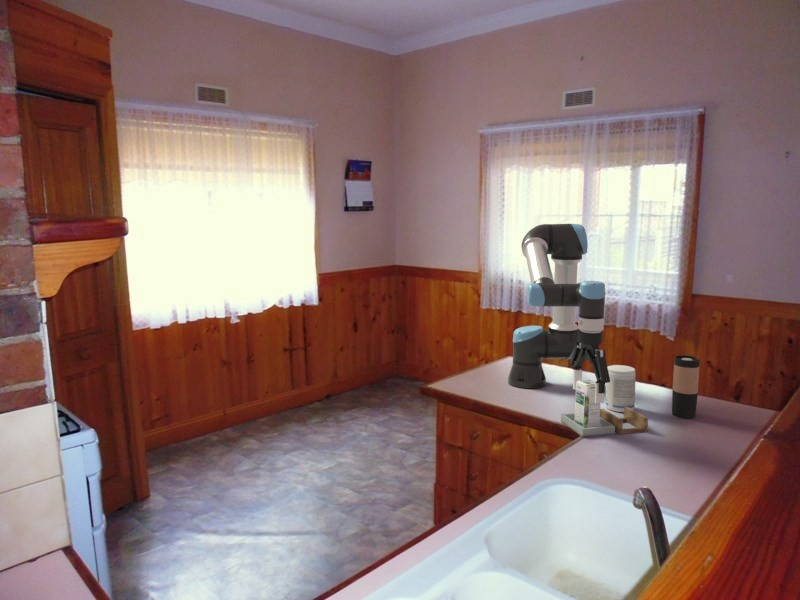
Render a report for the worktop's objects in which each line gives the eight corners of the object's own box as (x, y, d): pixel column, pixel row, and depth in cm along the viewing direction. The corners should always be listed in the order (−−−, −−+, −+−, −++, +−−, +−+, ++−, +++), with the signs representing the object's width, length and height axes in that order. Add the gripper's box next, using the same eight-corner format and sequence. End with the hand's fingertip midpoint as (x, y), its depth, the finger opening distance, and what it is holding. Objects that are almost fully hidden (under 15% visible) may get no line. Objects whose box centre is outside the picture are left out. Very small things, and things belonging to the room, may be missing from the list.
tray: (560, 421, 184) (560, 414, 184) (591, 418, 186) (591, 411, 186) (582, 437, 170) (582, 429, 170) (614, 434, 172) (615, 426, 172)
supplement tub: (640, 409, 194) (642, 369, 192) (623, 415, 189) (625, 373, 187) (615, 402, 202) (617, 363, 200) (599, 407, 197) (600, 367, 195)
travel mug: (667, 415, 188) (671, 358, 185) (675, 410, 194) (678, 354, 191) (692, 421, 183) (696, 362, 180) (699, 414, 188) (703, 357, 186)
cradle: (599, 422, 183) (599, 408, 182) (626, 419, 185) (627, 406, 184) (618, 434, 172) (619, 420, 172) (647, 431, 174) (648, 418, 173)
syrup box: (573, 424, 180) (574, 380, 178) (588, 421, 182) (589, 378, 180) (585, 430, 175) (586, 385, 173) (600, 427, 177) (602, 383, 175)
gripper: (560, 323, 185) (558, 384, 189) (601, 340, 161) (598, 409, 164) (581, 322, 187) (578, 382, 190) (624, 338, 162) (621, 407, 166)
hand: (587, 395), depth 177 cm, fingers open, 13 cm apart
